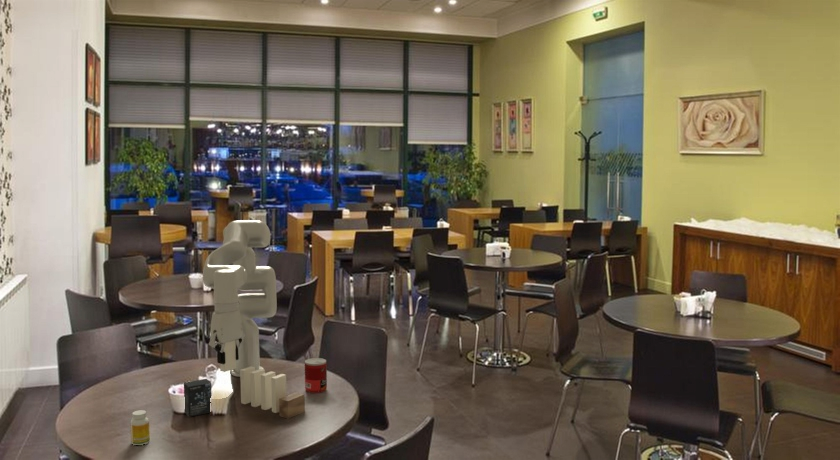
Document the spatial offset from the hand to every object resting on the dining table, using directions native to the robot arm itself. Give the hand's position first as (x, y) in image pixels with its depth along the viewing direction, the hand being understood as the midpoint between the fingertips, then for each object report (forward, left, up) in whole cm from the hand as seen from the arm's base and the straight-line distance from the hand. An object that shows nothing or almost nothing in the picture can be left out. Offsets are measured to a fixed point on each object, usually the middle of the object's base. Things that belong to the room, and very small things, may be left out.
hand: (228, 360), depth 252 cm
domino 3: (-1, +14, -19) cm, 24 cm away
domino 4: (+4, +14, -19) cm, 24 cm away
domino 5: (+9, +14, -19) cm, 25 cm away
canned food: (+5, +37, -19) cm, 42 cm away
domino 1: (0, 0, -3) cm, 3 cm away
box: (-12, -3, -20) cm, 23 cm away
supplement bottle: (-6, -30, -19) cm, 36 cm away
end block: (+15, +14, -19) cm, 28 cm away
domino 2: (-6, +14, -19) cm, 24 cm away
